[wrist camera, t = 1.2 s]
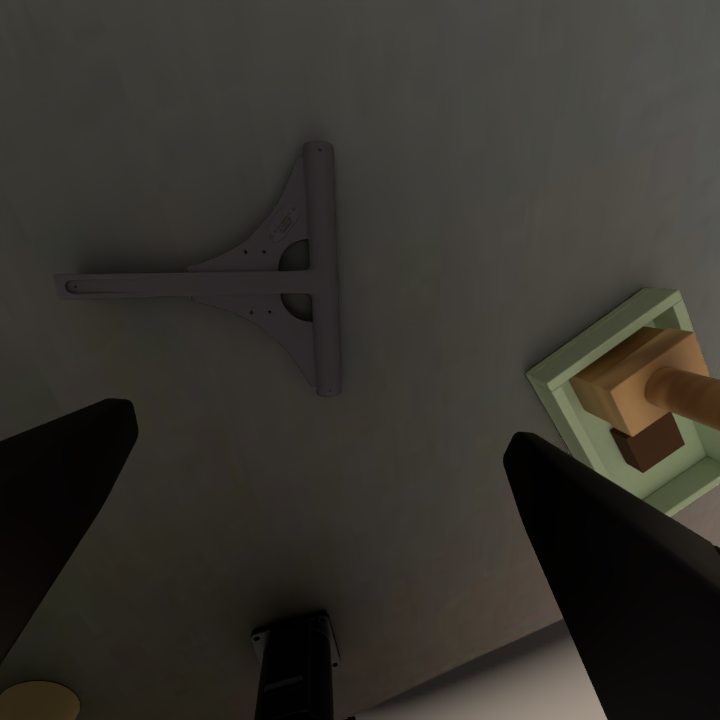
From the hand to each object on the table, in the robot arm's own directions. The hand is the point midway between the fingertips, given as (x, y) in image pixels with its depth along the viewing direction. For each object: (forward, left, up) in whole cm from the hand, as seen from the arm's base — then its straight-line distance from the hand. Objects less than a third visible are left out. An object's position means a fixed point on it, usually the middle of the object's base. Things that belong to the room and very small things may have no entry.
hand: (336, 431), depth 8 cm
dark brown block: (-13, -23, -13) cm, 30 cm away
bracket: (+4, +6, -14) cm, 16 cm away
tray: (-12, -23, -14) cm, 29 cm away
